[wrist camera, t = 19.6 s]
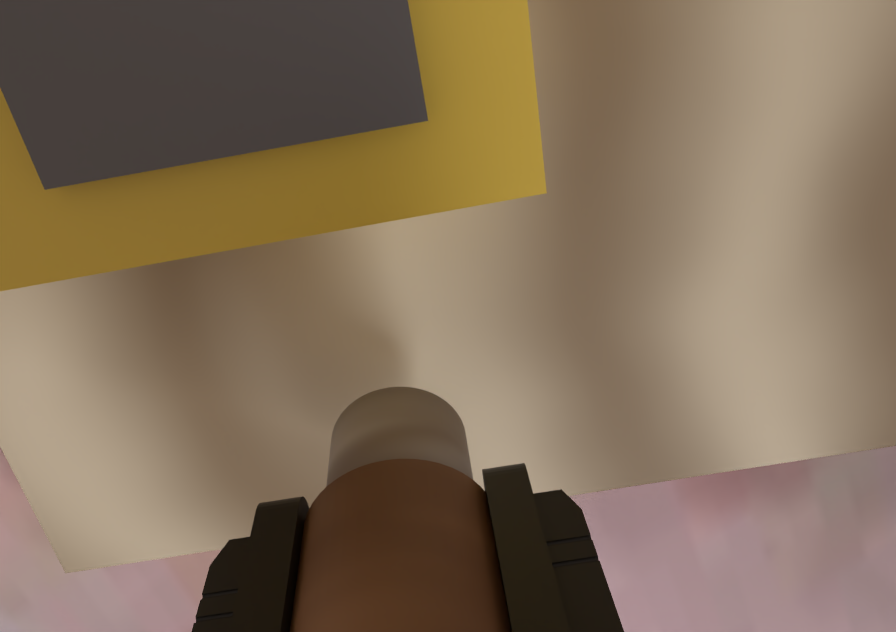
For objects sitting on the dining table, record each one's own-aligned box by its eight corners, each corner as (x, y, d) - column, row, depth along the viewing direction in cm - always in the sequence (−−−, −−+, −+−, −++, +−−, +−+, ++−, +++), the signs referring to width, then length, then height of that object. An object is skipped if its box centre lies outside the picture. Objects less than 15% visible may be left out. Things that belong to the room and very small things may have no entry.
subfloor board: (1553, -852, 10) (1785, -1008, 8) (1114, 386, 19) (1182, 427, 17) (-424, -586, 9) (-591, -693, 8) (105, 540, 18) (78, 597, 17)
